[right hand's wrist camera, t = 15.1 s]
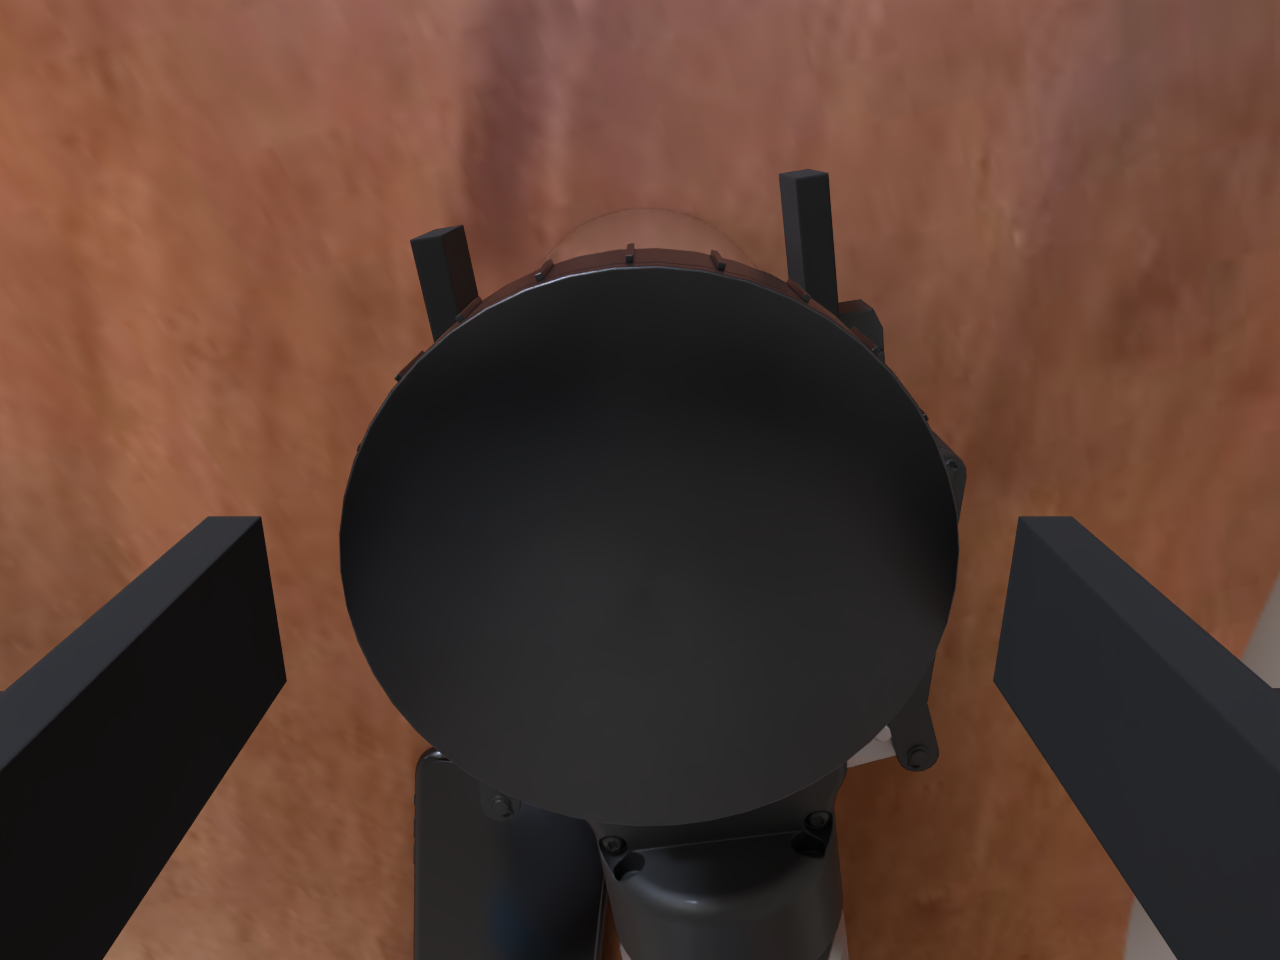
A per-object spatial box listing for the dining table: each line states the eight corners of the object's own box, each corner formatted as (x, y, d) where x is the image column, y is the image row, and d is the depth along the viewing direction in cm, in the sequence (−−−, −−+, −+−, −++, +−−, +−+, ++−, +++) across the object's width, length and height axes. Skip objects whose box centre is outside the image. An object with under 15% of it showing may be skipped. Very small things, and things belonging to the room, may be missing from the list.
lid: (304, 643, 16) (258, 712, 14) (487, 136, 13) (460, 136, 11) (767, 815, 18) (783, 900, 16) (1029, 389, 15) (1089, 427, 13)
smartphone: (592, 1047, 41) (624, 753, 35) (591, 1066, 40) (623, 769, 34) (415, 1034, 40) (417, 736, 35) (410, 1053, 40) (412, 751, 34)
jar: (482, 402, 30) (311, 683, 15) (577, 162, 27) (491, 195, 12) (706, 497, 31) (767, 848, 16) (819, 275, 29) (1025, 437, 13)
